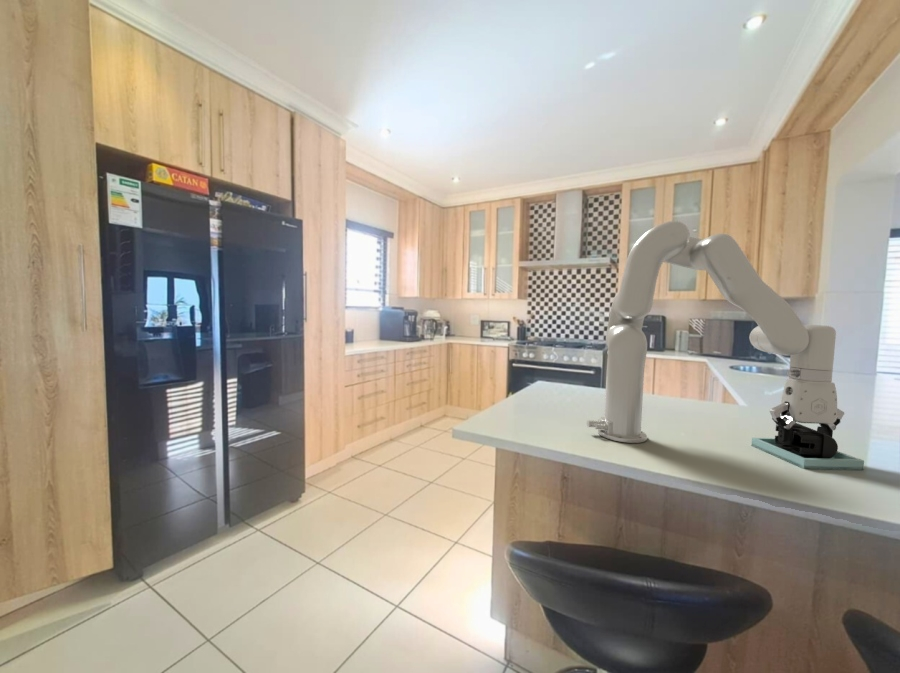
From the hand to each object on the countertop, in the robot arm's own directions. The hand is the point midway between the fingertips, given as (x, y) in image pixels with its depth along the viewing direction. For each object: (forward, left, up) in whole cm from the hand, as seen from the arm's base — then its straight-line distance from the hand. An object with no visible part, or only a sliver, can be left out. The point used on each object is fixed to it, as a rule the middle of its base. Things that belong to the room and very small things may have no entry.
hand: (803, 443), depth 91 cm
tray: (0, 0, -3) cm, 3 cm away
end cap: (0, 0, -3) cm, 3 cm away
